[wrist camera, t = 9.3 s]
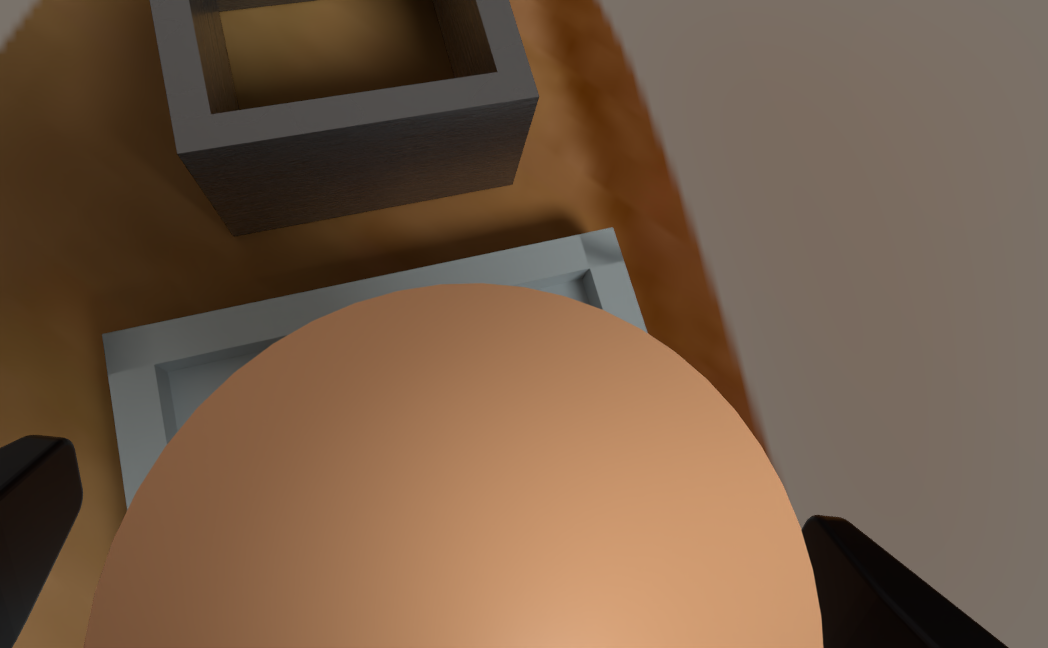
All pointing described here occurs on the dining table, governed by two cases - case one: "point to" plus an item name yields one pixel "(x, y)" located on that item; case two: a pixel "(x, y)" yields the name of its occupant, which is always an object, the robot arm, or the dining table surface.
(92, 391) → the dining table surface
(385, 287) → the tray
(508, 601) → the peg
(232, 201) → the square socket holder
